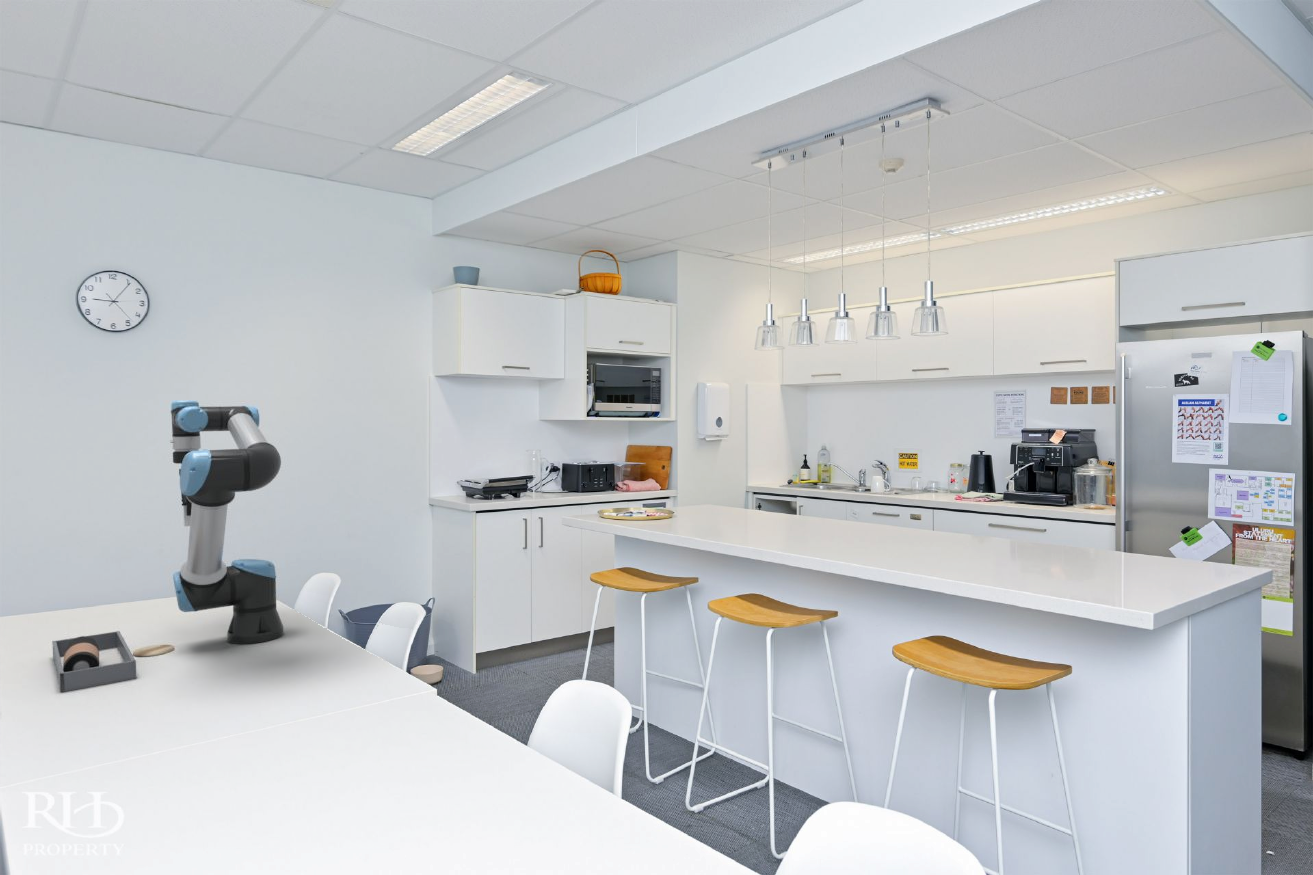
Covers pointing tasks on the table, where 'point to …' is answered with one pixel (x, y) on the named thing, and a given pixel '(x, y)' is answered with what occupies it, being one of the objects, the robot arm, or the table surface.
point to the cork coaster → (153, 650)
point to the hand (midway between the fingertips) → (189, 525)
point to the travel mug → (81, 654)
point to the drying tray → (95, 674)
